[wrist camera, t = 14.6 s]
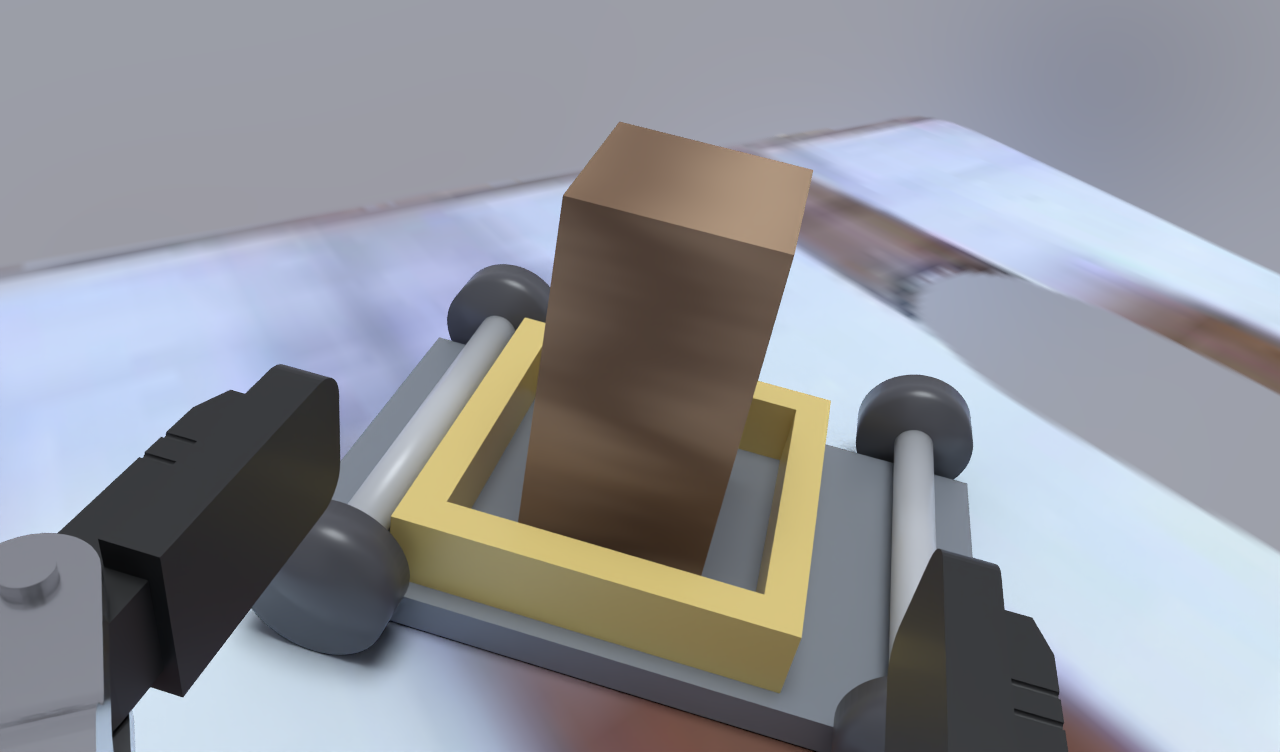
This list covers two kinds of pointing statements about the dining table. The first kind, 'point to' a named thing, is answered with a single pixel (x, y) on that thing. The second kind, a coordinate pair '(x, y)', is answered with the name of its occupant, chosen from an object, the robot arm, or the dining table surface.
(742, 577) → the chassis
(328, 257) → the dining table surface
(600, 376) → the brown wooden block
